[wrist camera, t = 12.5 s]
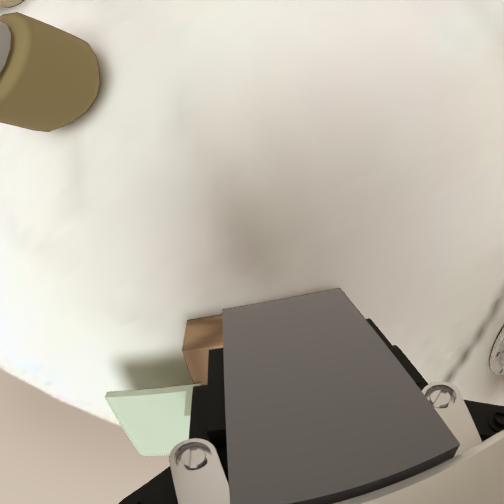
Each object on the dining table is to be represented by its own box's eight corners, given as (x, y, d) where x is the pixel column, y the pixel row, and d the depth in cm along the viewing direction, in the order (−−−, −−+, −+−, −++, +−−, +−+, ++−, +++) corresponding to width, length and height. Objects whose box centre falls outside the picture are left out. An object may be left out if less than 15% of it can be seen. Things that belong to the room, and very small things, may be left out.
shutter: (200, 383, 25) (199, 414, 22) (223, 444, 28) (224, 473, 25) (107, 391, 25) (96, 420, 21) (141, 450, 28) (137, 477, 24)
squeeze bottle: (27, 76, 20) (-115, 43, 3) (100, 31, 20) (-15, -66, 3) (48, 149, 23) (-113, 169, 6) (124, 106, 23) (-17, 53, 6)
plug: (339, 287, 12) (460, 444, 4) (340, 376, 13) (412, 523, 6) (222, 309, 12) (230, 511, 4) (242, 396, 13) (262, 563, 6)
